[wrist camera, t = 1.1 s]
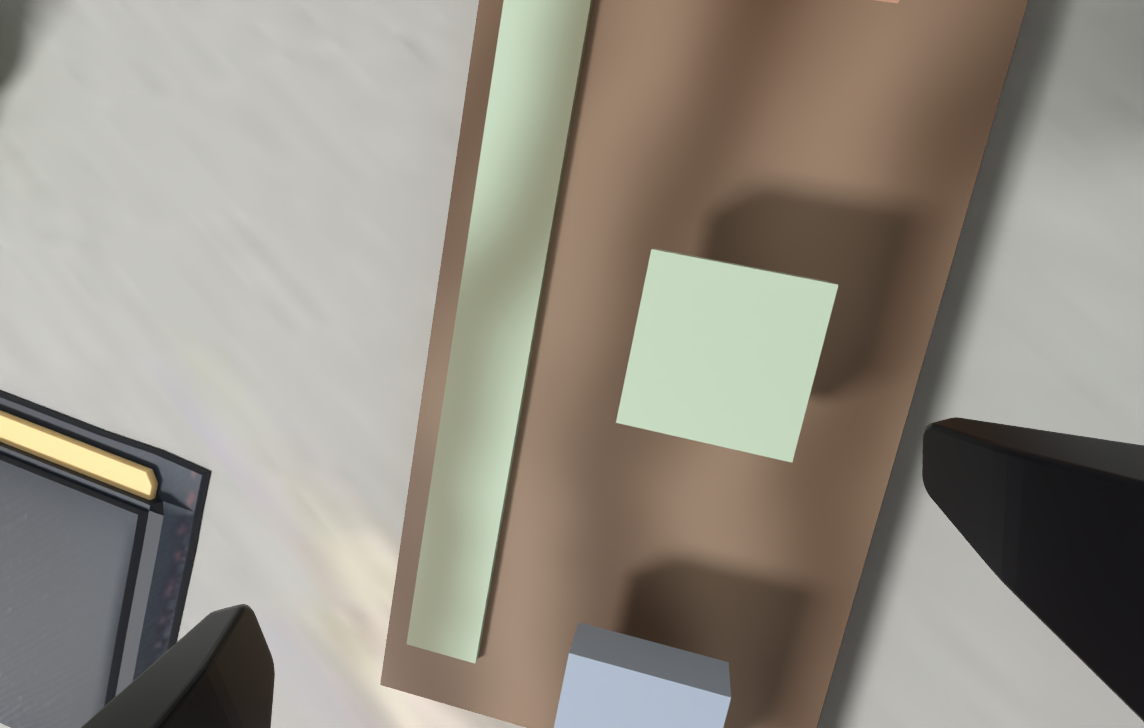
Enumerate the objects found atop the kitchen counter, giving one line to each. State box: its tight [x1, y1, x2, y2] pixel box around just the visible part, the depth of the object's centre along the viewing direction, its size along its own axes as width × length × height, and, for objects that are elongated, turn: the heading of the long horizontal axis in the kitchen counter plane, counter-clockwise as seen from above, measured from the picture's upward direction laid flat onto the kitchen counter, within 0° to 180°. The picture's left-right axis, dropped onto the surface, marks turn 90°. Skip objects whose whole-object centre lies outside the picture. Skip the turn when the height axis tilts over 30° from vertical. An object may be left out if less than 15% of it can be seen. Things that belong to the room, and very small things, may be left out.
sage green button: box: [616, 248, 838, 462], centre depth 18 cm, size 4×4×2 cm
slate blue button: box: [554, 622, 731, 728], centre depth 20 cm, size 4×4×2 cm
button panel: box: [380, 0, 1028, 728], centre depth 21 cm, size 14×28×2 cm, turn 169°
